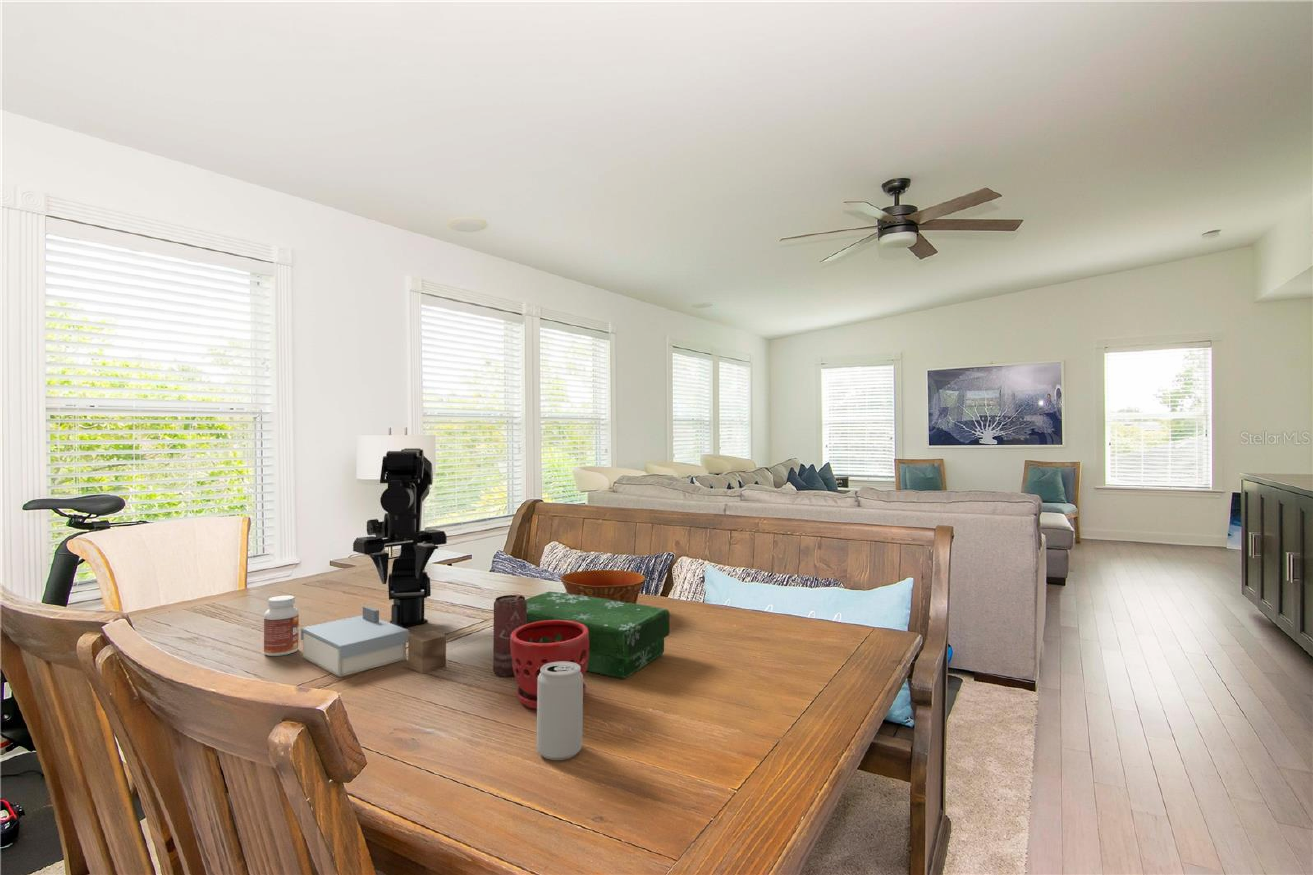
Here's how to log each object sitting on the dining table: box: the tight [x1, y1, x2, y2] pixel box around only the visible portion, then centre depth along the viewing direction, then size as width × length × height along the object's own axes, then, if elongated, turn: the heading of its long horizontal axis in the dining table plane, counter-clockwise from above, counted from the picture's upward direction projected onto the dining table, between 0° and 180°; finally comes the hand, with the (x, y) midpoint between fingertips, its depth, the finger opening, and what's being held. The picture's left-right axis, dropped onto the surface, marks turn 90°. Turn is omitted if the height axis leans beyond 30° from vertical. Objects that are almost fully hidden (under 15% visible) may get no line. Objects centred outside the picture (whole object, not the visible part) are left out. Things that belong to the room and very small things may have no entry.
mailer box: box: [302, 632, 407, 678], centre depth 131 cm, size 13×16×5 cm
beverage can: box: [536, 661, 584, 761], centre depth 93 cm, size 6×6×12 cm
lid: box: [300, 605, 410, 659], centre depth 131 cm, size 13×17×5 cm
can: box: [492, 594, 527, 678], centre depth 124 cm, size 6×6×14 cm
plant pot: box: [510, 620, 589, 710], centre depth 111 cm, size 13×13×12 cm
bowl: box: [560, 569, 647, 604], centre depth 163 cm, size 21×21×10 cm
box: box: [525, 591, 671, 679], centre depth 135 cm, size 32×18×10 cm, turn 61°
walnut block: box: [407, 630, 447, 674], centre depth 127 cm, size 5×5×6 cm
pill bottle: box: [263, 595, 300, 657], centre depth 135 cm, size 6×6×11 cm
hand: (401, 581), depth 142 cm, fingers open, 7 cm apart
